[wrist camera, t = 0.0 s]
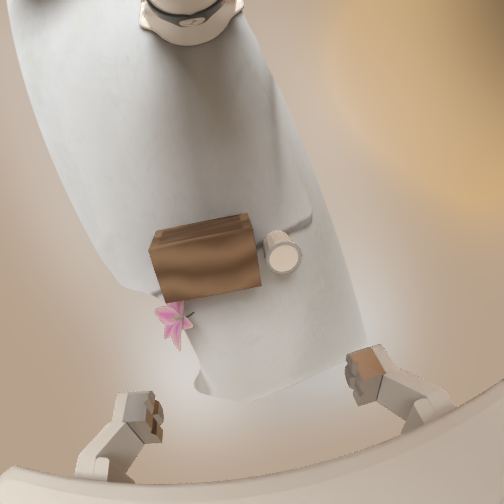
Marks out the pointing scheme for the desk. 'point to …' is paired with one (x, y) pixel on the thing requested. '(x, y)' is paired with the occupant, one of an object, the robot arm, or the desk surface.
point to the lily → (174, 321)
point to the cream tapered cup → (281, 253)
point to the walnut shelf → (205, 258)
